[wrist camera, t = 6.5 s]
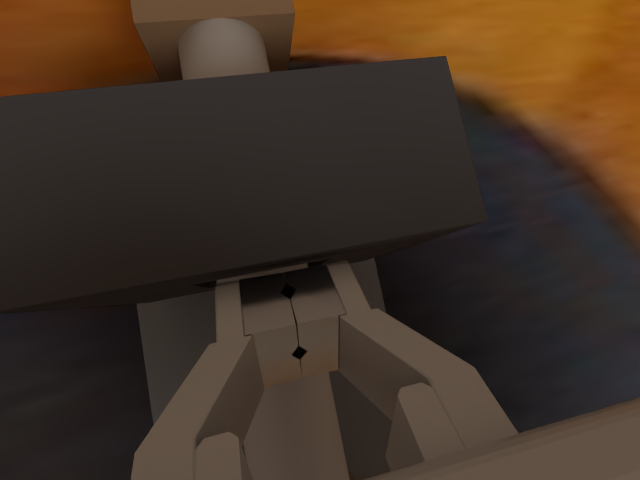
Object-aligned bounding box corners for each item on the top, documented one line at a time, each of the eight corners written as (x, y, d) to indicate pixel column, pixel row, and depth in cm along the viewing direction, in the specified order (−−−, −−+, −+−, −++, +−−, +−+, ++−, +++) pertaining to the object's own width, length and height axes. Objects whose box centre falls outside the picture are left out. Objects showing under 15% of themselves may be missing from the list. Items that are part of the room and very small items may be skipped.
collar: (364, 260, 18) (487, 220, 8) (149, 302, 16) (-23, 315, 6) (347, 182, 18) (445, 55, 9) (136, 214, 17) (-42, 100, 7)
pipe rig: (417, 497, 20) (561, 685, 10) (184, 573, 17) (94, 901, 8) (328, 82, 22) (376, -74, 13) (117, 102, 20) (-9, -66, 11)
